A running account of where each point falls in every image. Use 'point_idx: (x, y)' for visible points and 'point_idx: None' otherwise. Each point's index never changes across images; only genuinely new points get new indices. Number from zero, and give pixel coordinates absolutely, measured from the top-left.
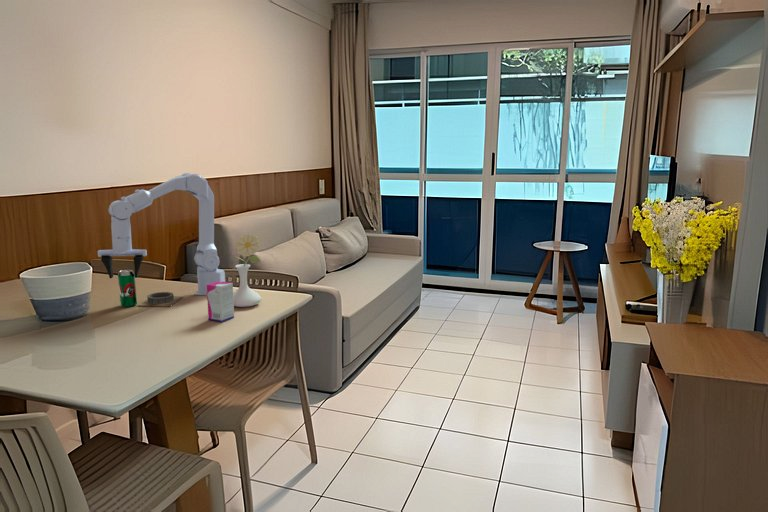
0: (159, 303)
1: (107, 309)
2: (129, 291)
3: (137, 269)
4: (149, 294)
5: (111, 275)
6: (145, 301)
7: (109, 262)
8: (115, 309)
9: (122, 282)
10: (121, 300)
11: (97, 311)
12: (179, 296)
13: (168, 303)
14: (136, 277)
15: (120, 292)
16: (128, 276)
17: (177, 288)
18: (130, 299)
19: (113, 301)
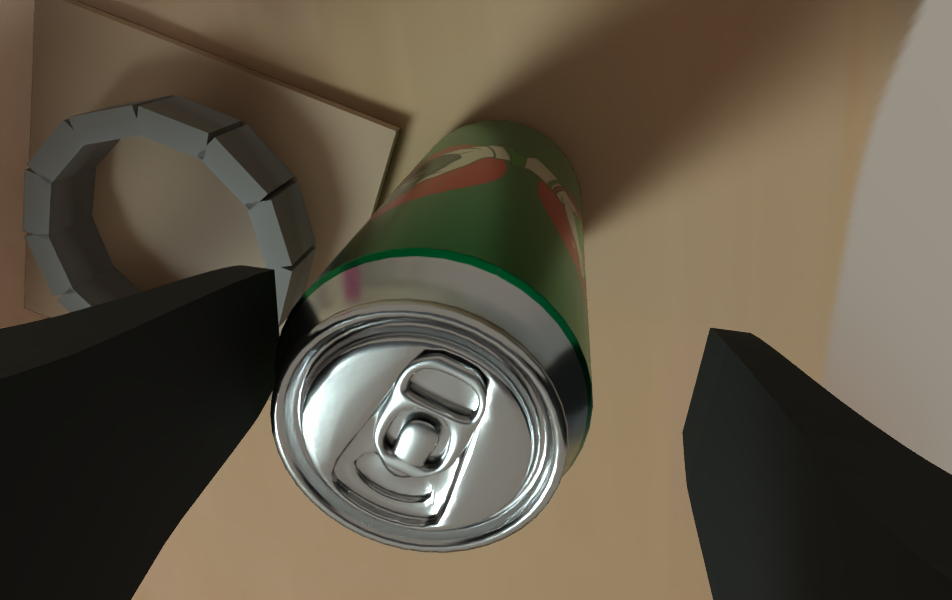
0: (167, 97)
1: (719, 116)
2: (436, 163)
3: (88, 310)
4: (280, 315)
5: (726, 347)
6: (338, 248)
7: (902, 579)
8: (631, 85)
9: (510, 220)
10: (562, 167)
11: (835, 63)
12: (53, 316)
13: (79, 81)
14: (243, 268)
15: (566, 205)
16: (366, 251)
17: (169, 587)
18: (452, 138)
19: (657, 403)
